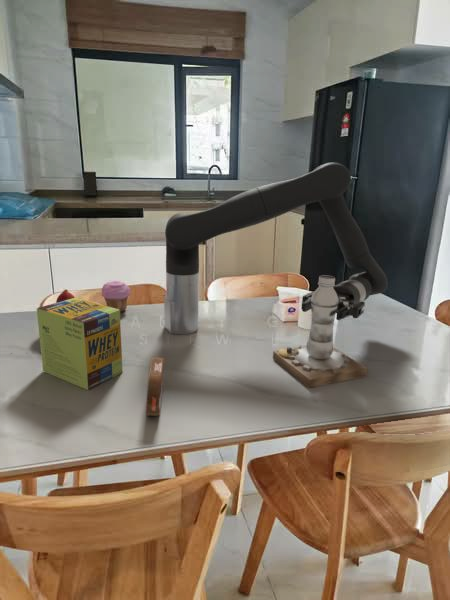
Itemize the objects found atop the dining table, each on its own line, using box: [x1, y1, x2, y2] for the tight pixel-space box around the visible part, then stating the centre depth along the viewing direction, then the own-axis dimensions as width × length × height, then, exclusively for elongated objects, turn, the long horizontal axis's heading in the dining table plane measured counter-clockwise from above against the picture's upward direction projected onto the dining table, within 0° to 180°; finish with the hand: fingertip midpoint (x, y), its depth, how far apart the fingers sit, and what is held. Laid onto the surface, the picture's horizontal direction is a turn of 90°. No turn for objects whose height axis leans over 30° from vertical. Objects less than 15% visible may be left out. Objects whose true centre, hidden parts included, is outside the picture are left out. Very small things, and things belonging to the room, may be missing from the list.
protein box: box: [36, 297, 124, 391], centre depth 97 cm, size 10×15×16 cm
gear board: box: [272, 345, 368, 389], centre depth 105 cm, size 16×16×4 cm
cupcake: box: [101, 280, 131, 313], centre depth 139 cm, size 9×9×10 cm
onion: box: [55, 288, 76, 303], centre depth 135 cm, size 6×6×8 cm
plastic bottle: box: [305, 274, 339, 359], centre depth 102 cm, size 6×7×20 cm
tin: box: [145, 356, 165, 416], centre depth 87 cm, size 15×3×8 cm, turn 5°
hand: (320, 311), depth 100 cm, fingers open, 8 cm apart
